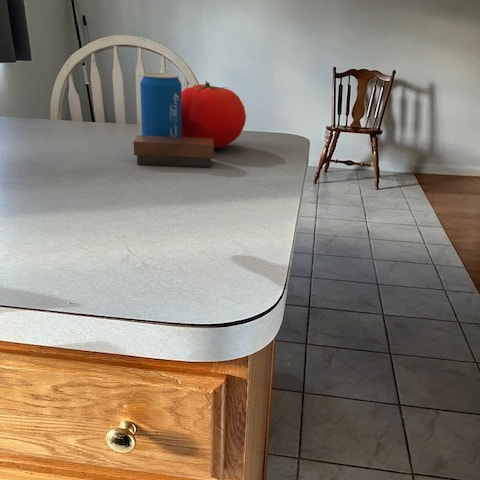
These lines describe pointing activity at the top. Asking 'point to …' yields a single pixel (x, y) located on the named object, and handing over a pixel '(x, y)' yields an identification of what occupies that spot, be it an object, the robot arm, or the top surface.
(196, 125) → the tomato
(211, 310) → the top surface
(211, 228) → the top surface
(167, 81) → the beverage can
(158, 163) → the scrub brush
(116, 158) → the top surface
